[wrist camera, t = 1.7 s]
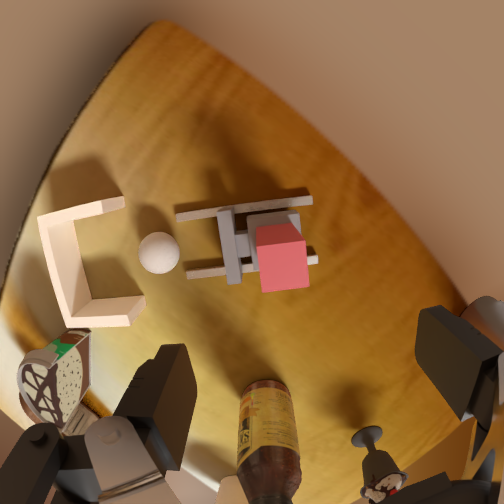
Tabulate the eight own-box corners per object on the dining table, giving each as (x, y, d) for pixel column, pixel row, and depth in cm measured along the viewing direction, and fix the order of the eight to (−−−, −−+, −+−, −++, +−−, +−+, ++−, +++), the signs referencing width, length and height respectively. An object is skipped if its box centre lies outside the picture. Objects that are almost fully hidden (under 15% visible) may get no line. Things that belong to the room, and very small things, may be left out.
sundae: (374, 415, 36) (408, 496, 21) (393, 432, 37) (425, 503, 22) (337, 439, 37) (358, 521, 22) (359, 454, 38) (381, 527, 23)
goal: (123, 195, 29) (100, 200, 24) (146, 305, 32) (130, 325, 27) (63, 210, 29) (36, 216, 24) (87, 309, 32) (66, 327, 27)
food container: (52, 304, 32) (6, 340, 22) (91, 321, 32) (48, 364, 23) (56, 375, 35) (22, 415, 25) (91, 391, 35) (61, 436, 26)
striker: (293, 199, 28) (313, 211, 18) (300, 265, 29) (321, 308, 19) (220, 208, 28) (201, 225, 18) (230, 274, 29) (218, 321, 20)
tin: (36, 370, 35) (8, 400, 27) (42, 361, 35) (12, 391, 26) (108, 433, 38) (90, 469, 29) (117, 426, 37) (98, 465, 29)
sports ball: (191, 250, 30) (182, 261, 26) (164, 274, 31) (152, 287, 27) (165, 220, 29) (153, 227, 26) (139, 245, 30) (124, 255, 26)
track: (310, 195, 29) (312, 195, 28) (316, 261, 30) (318, 263, 29) (177, 213, 29) (175, 214, 28) (189, 276, 31) (187, 279, 30)
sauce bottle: (238, 378, 34) (226, 528, 15) (291, 375, 34) (313, 523, 14) (243, 415, 35) (236, 550, 16) (291, 412, 35) (307, 547, 16)
